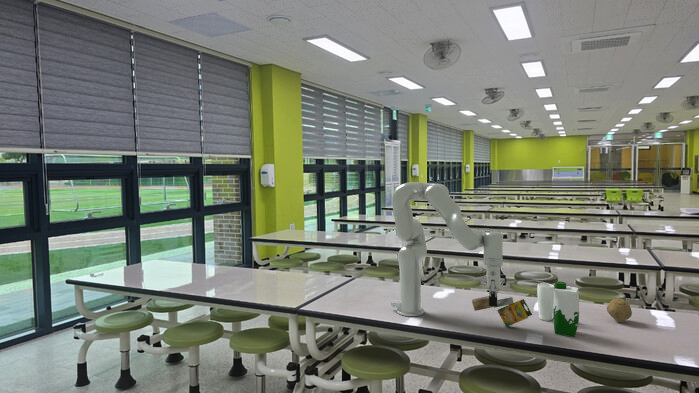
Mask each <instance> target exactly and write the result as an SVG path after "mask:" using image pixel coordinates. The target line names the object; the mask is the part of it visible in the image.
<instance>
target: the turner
mask: <svg viewBox="0 0 699 393" xmlns="http://www.w3.org/2000/svg"><path fill="white" fill-rule="evenodd" d="M471 303H472V306H473V310H474V311H475V312H476V311H482V310H486V309H490V308H491V309H492V308H493V309H495V308H499V307H500V308H502V307H505V306H508V305H510V304H514V303H515V302H514V298H513V296H509V297H505V298H502V299H501V298H500V299H497V307H495V306H489V295H487V296H482V297H478V298H473V299H472V300H471Z"/></svg>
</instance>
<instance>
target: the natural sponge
mask: <svg viewBox="0 0 699 393" xmlns="http://www.w3.org/2000/svg"><path fill="white" fill-rule="evenodd" d="M606 312H607V314H609V316H610V317H611V318H612V319H613V320H614V321H616V322H618V323H624V322H625V321H626V320H628V319H630V318H631V317H632V315H633V310H632V307H631V305H630V303H628V302H627V301H626V300H625V299H622V298H619V297H618V298H614V299H612V300H611V301H610V302H609V303H608V305H607V306H606Z"/></svg>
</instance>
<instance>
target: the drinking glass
mask: <svg viewBox="0 0 699 393" xmlns="http://www.w3.org/2000/svg"><path fill="white" fill-rule="evenodd" d="M554 287H555V284H550V283H544V282H543V283H542V282H541V283H538V284H537V287H536V288H537V290H536V291H537V292H536V294H537V305H538V306H537V307H538V318H539V320H541V321H544V322H545V321H548V322H549V321H552V320H553V312H554Z"/></svg>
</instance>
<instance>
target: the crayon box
mask: <svg viewBox="0 0 699 393" xmlns="http://www.w3.org/2000/svg"><path fill="white" fill-rule="evenodd" d="M513 303H514V304H510V305H505V306H502V307H500V308H498V309H497V313H498V315H499V317H500V318H501V321H502V322H503V324H504V326H505V328H507V327H510V326H512V325H514V324H517V323H519V322H521V321H524V320H526V319H528V318H529V317H530V316H533V313H532V311H531V310H530V308H529V306H528V304H527V302H526V300H525V299H524V298H522V299H520V300H518V301H515V302H513ZM525 307H526V308H527V309H526V308H525Z"/></svg>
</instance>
